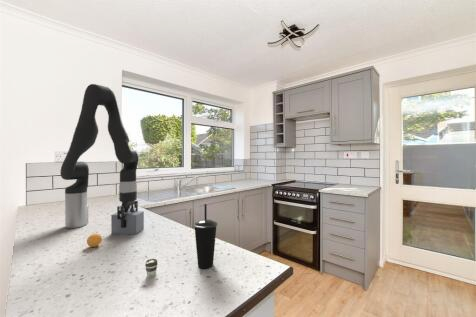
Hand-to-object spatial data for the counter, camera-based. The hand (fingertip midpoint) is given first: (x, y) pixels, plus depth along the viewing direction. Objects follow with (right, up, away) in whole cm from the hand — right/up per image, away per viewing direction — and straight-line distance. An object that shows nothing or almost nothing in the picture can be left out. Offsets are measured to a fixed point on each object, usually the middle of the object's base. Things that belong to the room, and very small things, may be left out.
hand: (128, 225), depth 104 cm
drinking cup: (+42, -3, -33) cm, 54 cm away
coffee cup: (+26, -4, -39) cm, 47 cm away
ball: (-5, -1, -18) cm, 18 cm away
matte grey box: (0, -3, 0) cm, 3 cm away
